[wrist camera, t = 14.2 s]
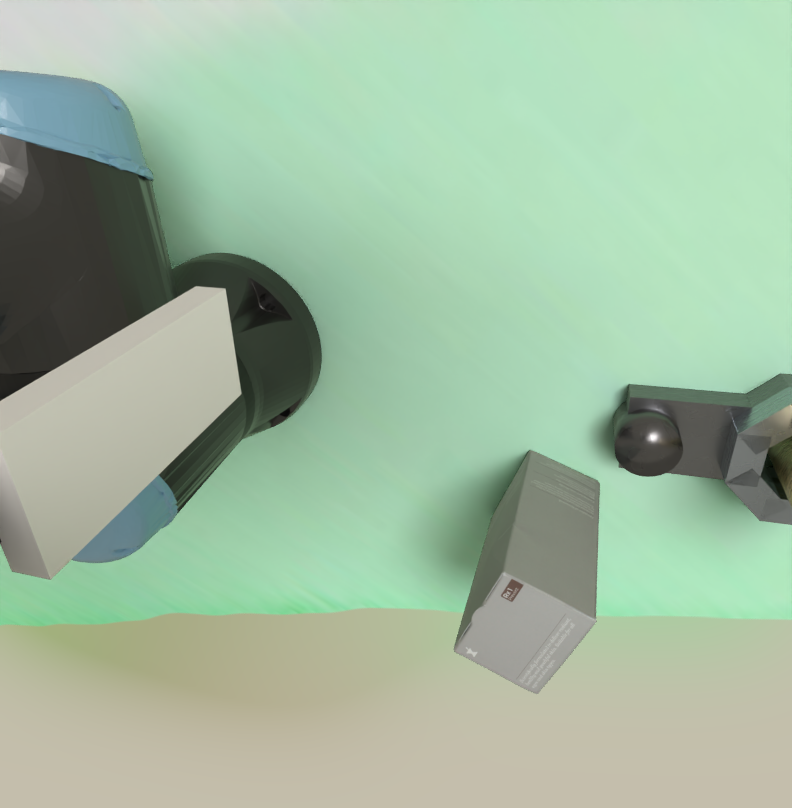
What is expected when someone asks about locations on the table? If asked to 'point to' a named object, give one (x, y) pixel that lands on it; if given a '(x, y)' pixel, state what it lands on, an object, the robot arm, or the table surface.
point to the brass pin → (783, 464)
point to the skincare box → (535, 575)
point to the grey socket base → (710, 438)
